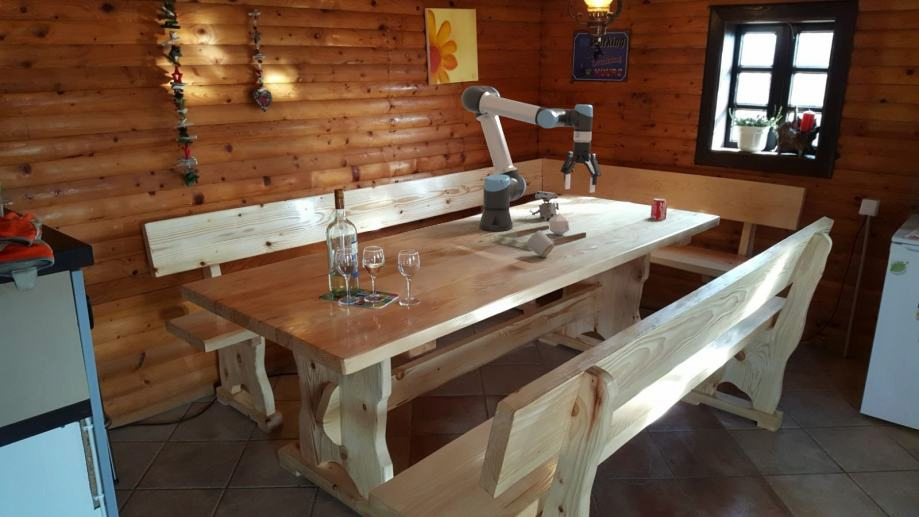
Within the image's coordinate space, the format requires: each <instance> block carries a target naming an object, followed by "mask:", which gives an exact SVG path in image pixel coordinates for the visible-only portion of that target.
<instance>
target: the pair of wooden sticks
mask: <svg viewBox="0 0 919 517" xmlns="http://www.w3.org/2000/svg"><path fill="white" fill-rule="evenodd" d="M539 230H540V231H542V232H543V231H547V230H550V225H547V224H546V225H542V226H541V225H540V226H537V227H531V228H526V229H522V230H516V231H512V232H507V233H500V234H496V235H493V242H494V243H497V244H503V245H507V246H512V247H517V248H521V249H525V250H528V251H533V250H532V249H530V248H529V247H528V246H527V242H528V241H524V240H519V239H517V238H521V237H525V236H528V235H533V234H534V233H536V232H537V231H539ZM586 238H587V232H585V231H584V232H580V233H574V234H571V235H570V234H569V235H565V236H561V237H556V238H553V239H551V238H550V239H551V240H552V242H553V243H554V247H555V246H559V245H563V244H568V243H572V242H575V241H578V240H582V239H586Z"/></svg>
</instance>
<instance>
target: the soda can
mask: <svg viewBox="0 0 919 517" xmlns="http://www.w3.org/2000/svg"><path fill="white" fill-rule="evenodd" d="M650 207H651V208H650V209H651V210H650V219H651V220H654V221H665V220H667V211H668V202H667V199H666V198H659V197H656V198H655V197H654V198H653V200H652V202H651V206H650Z"/></svg>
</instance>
